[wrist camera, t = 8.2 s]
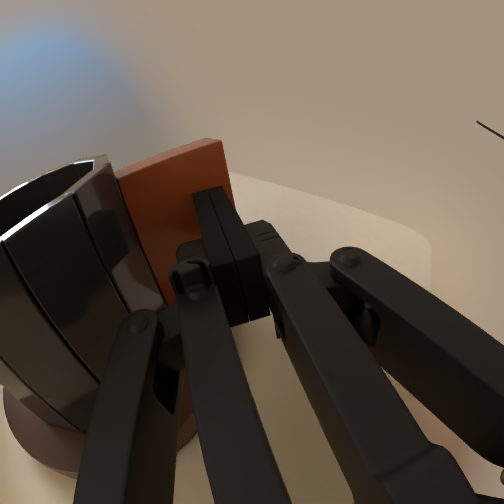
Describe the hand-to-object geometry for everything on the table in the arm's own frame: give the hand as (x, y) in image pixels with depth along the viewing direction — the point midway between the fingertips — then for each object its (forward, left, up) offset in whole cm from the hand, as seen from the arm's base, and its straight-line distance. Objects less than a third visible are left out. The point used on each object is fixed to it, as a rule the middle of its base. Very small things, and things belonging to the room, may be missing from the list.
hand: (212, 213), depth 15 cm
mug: (+7, -2, -5) cm, 9 cm away
